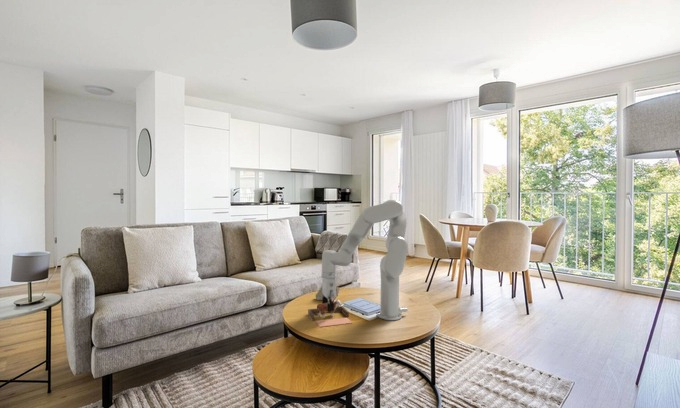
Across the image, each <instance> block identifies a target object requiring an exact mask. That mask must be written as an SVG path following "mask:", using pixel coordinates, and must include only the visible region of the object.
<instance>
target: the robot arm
mask: <svg viewBox="0 0 680 408" xmlns="http://www.w3.org/2000/svg"><path fill="white" fill-rule="evenodd" d="M387 220H389V227H388V231H387V235H386V236H387V237H386V241H385V247H386V249H387V252H386V255H384V256H382V258H381V259H380V263H379V264H380V265H379V269H380V293H379V294H380V298H379V299H380V302H379V303H380V304H379V305H380V307H379V308H380V310H379V311H380V314H378V316H377V317H378V318H379V319H382V320H384V321H385V320H386V321H398V320H401V319H402V318H403V314H402V313H407V312H408V308H407V307H403V306H400V276H401V275H402V274H403V272H404V269H405V265H406V259H407V254H408V251H409V249H408V242H407V241H406V239H405V237H406V236H405V235H406V229H407V216H406V213H405V212H404V209H403V204H402V203H401V202H400V201H399V200H397V199H388V200H386V201H385V202H382V203H379V204H376V205H371V206H370V205H369V206H366V207H364V208H363V210H362V211H361V213H360V214H359V216H358V218H357V219H356V221H355V223H354V225H353V226H352V228H351V230H350V231H349V232H348V235H347V236H346V238H345V239H344V241H343V242H342V244H341V245H340V247H339V249H338V251H336V250H333V249H324V250H323V251H322V254H321V278H322V282H321V285H322V286H321V288H322V293H323V295H322V296H323V297H322V300H321V304H322V303H328V306H327V311H334V298H336V299H337V297H336V286H337V285H336V283H337V282H336V279H337V266H339V267H340V266H341V267H348V266H349V265H351V263H352V261H353V257H352V256H353V254H354V252H355V251H356V249H357V248H358V246H359V245H360V244H361V243H362V242H364V241H365V239H366V238H367V237H368V235H369V233H370V231H371V230H372V228H373V226H374V225H375V224H378V223H381V222H385V221H387ZM329 299H330V300H329Z"/></svg>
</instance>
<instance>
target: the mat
mask: <svg viewBox="0 0 680 408" xmlns="http://www.w3.org/2000/svg"><path fill="white" fill-rule="evenodd" d="M352 323H353V322H352V321H351V320H350V319H349V317H341V318H340V317H339V318H331V319H330V318H329V319H324V320H316V324H317V325H318V326H319V328H324V327H332V326H344V325H350V324H351V325H352Z"/></svg>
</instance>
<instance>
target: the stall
mask: <svg viewBox="0 0 680 408" xmlns="http://www.w3.org/2000/svg"><path fill="white" fill-rule="evenodd" d="M317 312H318V310H317V308H309V309H307V314H308V317H310V319H311V321H312V322H315V318H316V317H315V315H318V314H317ZM338 312H341V313H342V314H343V315H345V316H346V317H345V318H349V317H350V312H349V311H348V310H347V308H345V307H344V305H341V306H338V307H337V308H336V309H335V310H334V311H333V313H338ZM326 313H328V314H329V313H331V311H328V312H326ZM326 313H325V311H324V312H323V314H326Z"/></svg>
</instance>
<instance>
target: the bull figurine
mask: <svg viewBox="0 0 680 408" xmlns="http://www.w3.org/2000/svg"><path fill="white" fill-rule="evenodd" d="M327 306H328V303H322V302H321V303H318V304H317V306H316V309H317V310H318V312H317V314H316V315H317V317H318V318H321V317H322V318H323V319H326V316H325V314H326V312H328V311H327ZM338 306H343V305H342V303H341V301H340V300H339V299H335V300H334V310H335V309H336V308H337V307H338ZM324 311H325V313H323V312H324ZM330 313H331V314H330V317H334V316H335V315H334V312H333V311H331V312H330Z"/></svg>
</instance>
